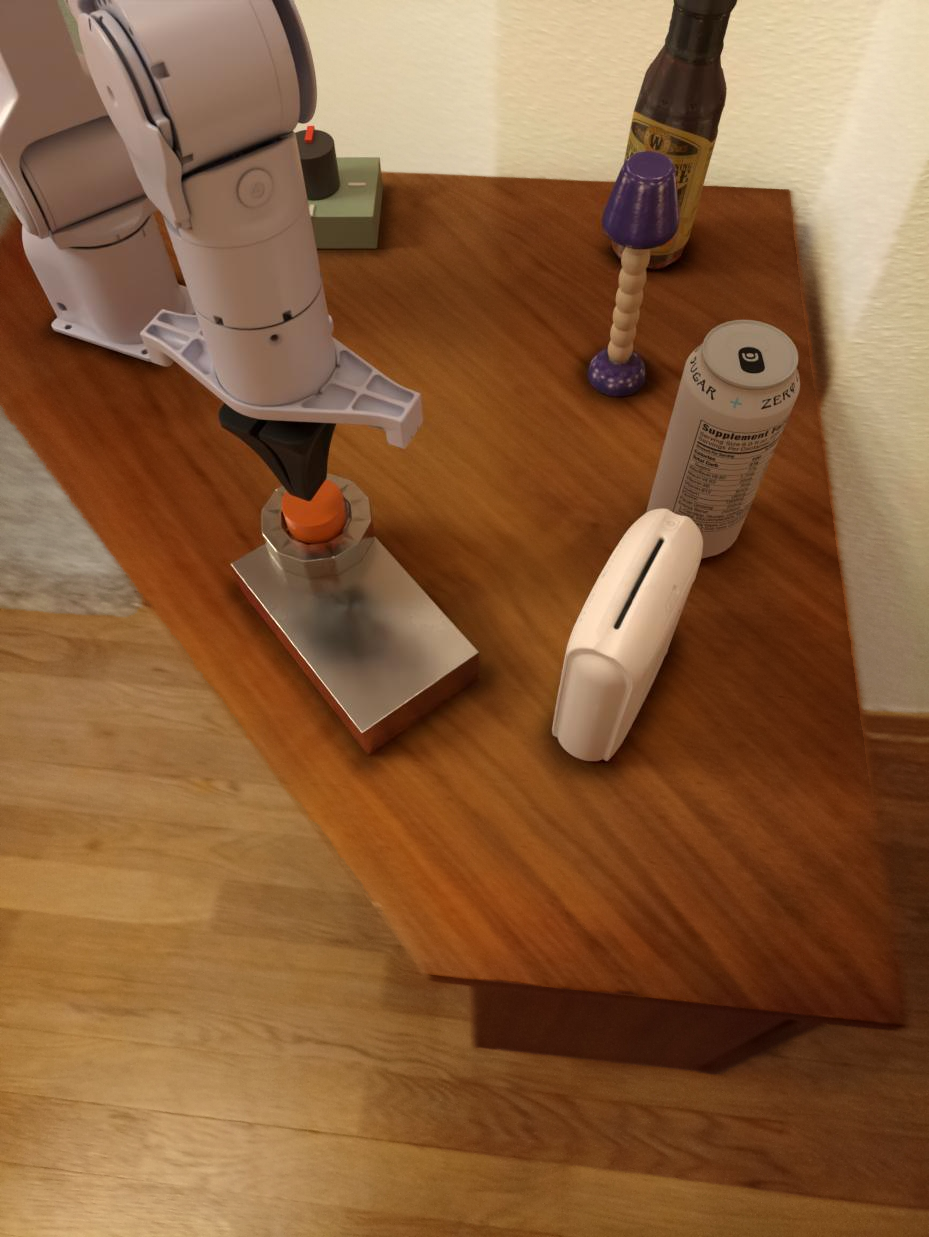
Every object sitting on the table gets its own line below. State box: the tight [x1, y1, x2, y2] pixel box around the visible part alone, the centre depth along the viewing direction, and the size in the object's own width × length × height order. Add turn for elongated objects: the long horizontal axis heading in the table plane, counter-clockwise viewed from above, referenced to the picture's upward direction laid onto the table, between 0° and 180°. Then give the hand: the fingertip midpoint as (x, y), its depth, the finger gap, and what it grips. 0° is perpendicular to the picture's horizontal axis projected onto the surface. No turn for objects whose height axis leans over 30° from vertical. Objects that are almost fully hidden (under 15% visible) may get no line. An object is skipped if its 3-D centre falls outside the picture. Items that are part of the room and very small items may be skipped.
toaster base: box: [230, 472, 480, 756], centre depth 52 cm, size 16×9×5 cm, turn 38°
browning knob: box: [295, 125, 340, 200], centre depth 71 cm, size 4×4×4 cm
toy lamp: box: [587, 151, 679, 398], centre depth 58 cm, size 5×5×17 cm
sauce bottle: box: [610, 0, 738, 270], centre depth 64 cm, size 6×6×20 cm
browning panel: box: [308, 156, 384, 250], centre depth 74 cm, size 10×8×3 cm
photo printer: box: [551, 509, 703, 762], centre depth 47 cm, size 10×4×12 cm, turn 152°
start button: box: [281, 480, 347, 544], centre depth 52 cm, size 4×4×2 cm
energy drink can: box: [645, 319, 801, 560], centre depth 51 cm, size 6×6×15 cm
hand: (308, 485), depth 50 cm, fingers closed
